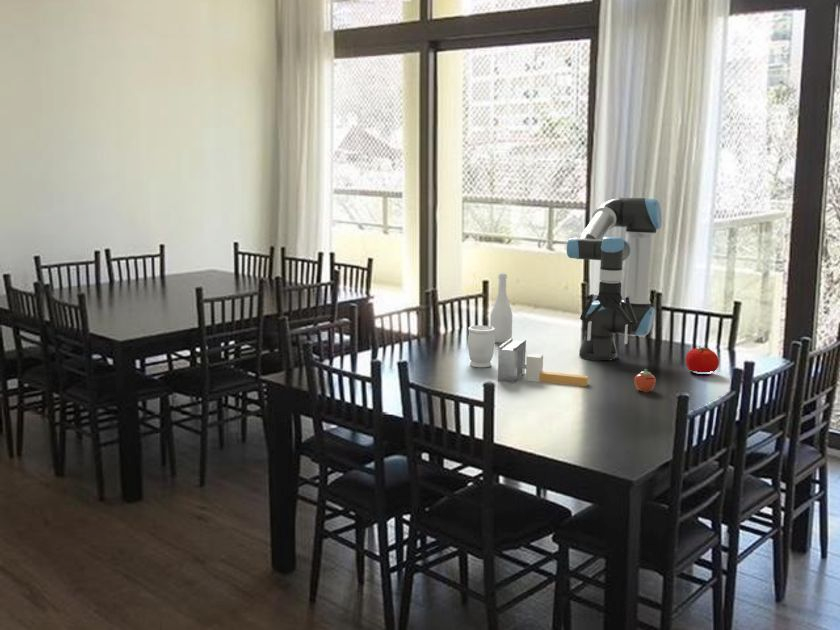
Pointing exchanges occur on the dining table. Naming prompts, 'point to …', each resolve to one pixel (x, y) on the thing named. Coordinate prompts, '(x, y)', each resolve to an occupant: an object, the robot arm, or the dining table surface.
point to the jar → (481, 345)
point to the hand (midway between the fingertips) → (607, 341)
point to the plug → (549, 373)
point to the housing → (511, 360)
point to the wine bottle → (501, 313)
